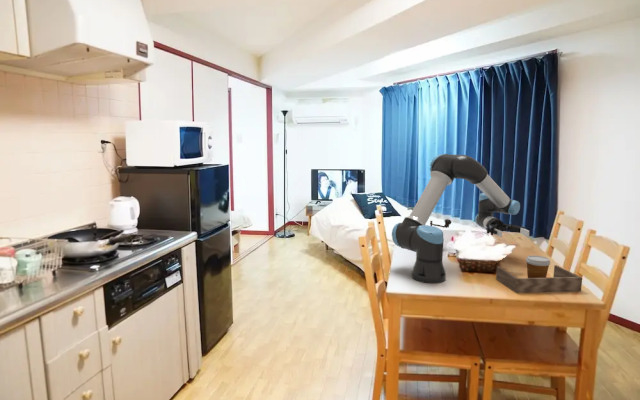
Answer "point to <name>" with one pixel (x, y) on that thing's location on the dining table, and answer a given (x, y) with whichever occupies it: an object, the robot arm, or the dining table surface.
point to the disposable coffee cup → (537, 266)
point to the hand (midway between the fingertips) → (514, 234)
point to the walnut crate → (541, 282)
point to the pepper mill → (447, 223)
